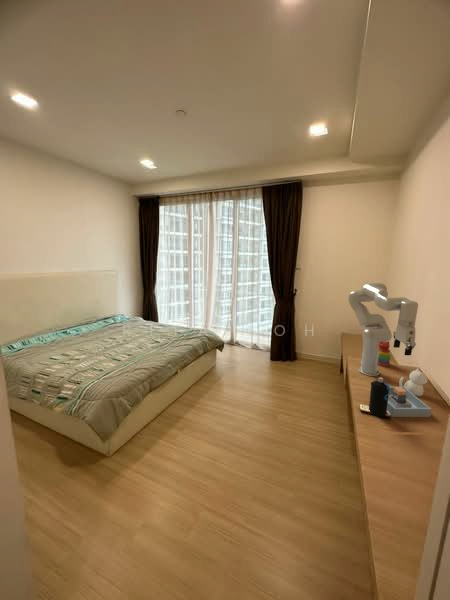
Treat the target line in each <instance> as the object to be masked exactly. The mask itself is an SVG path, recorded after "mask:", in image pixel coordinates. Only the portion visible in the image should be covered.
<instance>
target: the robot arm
mask: <svg viewBox="0 0 450 600" xmlns="http://www.w3.org/2000/svg"><path fill="white" fill-rule="evenodd" d="M388 295H389V293H388V288H387V286H386V284H384V283H382V282H376V283H374V282H372V283H366V284H364V285H363V286H362V288H361V289H360V290H353V291H351V292H350V293H349V294H348V298H347V299H348V303H349V306H350V307H351V308H352V310H353V311H354V314H355V316H356V319H357V321H358V324H359V326H361V328H365V329H364V330H362V333H361V336H362V354H361V361H360V364H361V365H360V366H359V367H358V372H359V373H361V374H363V375H365V376H369V377H377V376H379V375H380V371H379V370H378V366H379V365H378V355H379V346H378V343H379V342H390V341H391V340H392V339H393V348H396V349H397V348H398V349H399V348H400V346H401V343H402V344H404V345H405V349H404V356H412V351H413V350H414V348H415V347H416V346H417V344H416V342H415V341H416V321H417V314H418V309H419V303H418V302H417V301H415V300H410V299H409V298H407V297H405V296H404V297H403V296H400V297H388ZM365 302H366V303H367V302H368V303H370V302H374V304H375V306H376V307H378V308H379V309H381V310H383V311H386V312H393V311H396V312H397V311H399V313H398V320H397V324H396V328H395V331H393V336H392V331H391V329H390V326H389V325H388V323H387V321H386V319H385V317H384V316H383V315H382V314H379V313H371V312H370V311H369V309H368V307H367V306H366V305H364V303H365Z"/></svg>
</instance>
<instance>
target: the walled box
mask: <svg viewBox="0 0 450 600" xmlns="http://www.w3.org/2000/svg"><path fill="white" fill-rule="evenodd" d="M389 387H390V389H389V395H393V391H394V387H395V386H389ZM402 388H403V389H404V390H405V391H407V393H406V399H407V400H408V401H409V402H410V403H411V404H412V408H395V407H394V406H393V405H392V404H391V403H390V402H389V401H388V403H387V412H388V413H389V414H390V415H391V416H392V418H393V417H394V418H431V416H432V408H431V407H430V406H429V405H427V404H426V403H425V402H424V401H422V400H421V399H420V398H418V396H415V395H414V394H412V393H411V392H410V391H409V390H407V389H406V388H405V387H404V386H403V387H402Z"/></svg>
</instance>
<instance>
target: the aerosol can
mask: <svg viewBox="0 0 450 600" xmlns="http://www.w3.org/2000/svg"><path fill="white" fill-rule="evenodd" d="M390 387H391V386H389V385H388V383H386V382H385V381H384V378H383V377H382V376H381V377H380V376H379V377H378V380H374V381H371V382H370V394H369V404H368V411H369V410H370V411H369V412H370V414H372V415H374V416H376V417H382V418H383V417H386V416H387V412H388V411H387V403H388V395H389V389H390Z"/></svg>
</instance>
